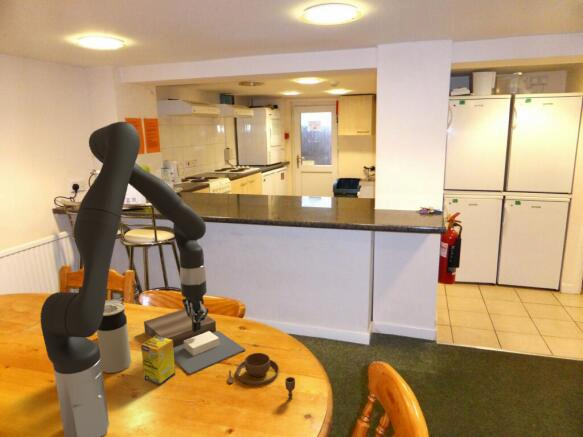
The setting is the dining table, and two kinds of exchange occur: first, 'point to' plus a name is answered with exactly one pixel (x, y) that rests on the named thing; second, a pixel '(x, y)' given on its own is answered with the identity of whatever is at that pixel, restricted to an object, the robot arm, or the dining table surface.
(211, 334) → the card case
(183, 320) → the walnut board
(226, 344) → the rubber mat
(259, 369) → the place setting
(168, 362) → the supplement box
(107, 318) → the travel mug
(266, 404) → the dining table surface
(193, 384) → the dining table surface
